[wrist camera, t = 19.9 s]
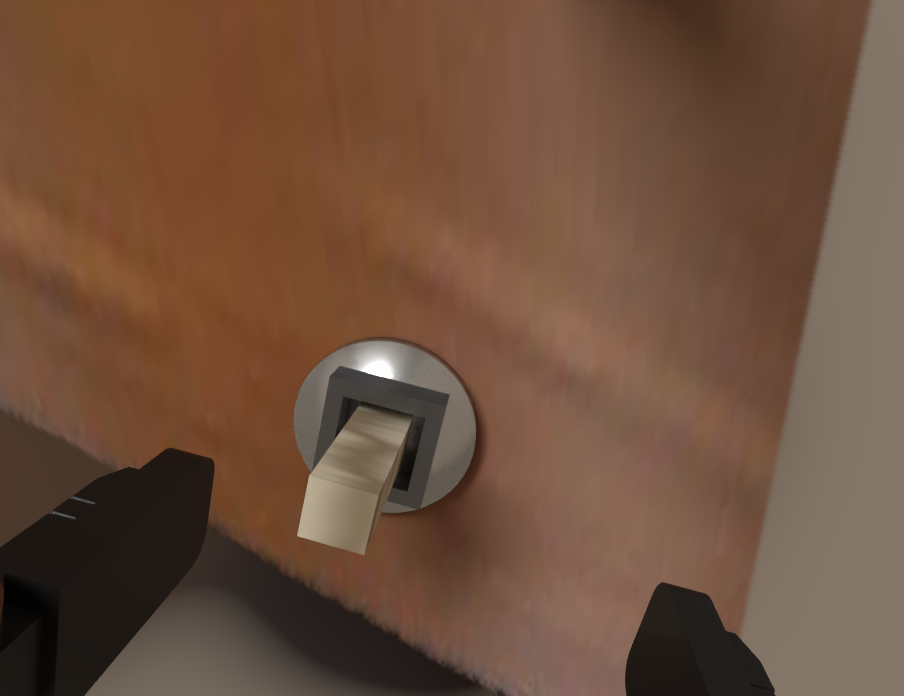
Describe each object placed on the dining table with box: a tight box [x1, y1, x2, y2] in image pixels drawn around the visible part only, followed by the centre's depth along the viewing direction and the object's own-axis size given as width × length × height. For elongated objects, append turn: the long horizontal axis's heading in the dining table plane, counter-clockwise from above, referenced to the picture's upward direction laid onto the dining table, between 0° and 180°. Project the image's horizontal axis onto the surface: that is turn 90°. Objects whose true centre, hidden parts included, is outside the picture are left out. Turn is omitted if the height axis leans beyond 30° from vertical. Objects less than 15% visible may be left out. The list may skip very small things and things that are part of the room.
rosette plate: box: [294, 337, 477, 513], centre depth 44 cm, size 14×14×4 cm
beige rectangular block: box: [297, 401, 414, 555], centre depth 39 cm, size 4×4×12 cm
